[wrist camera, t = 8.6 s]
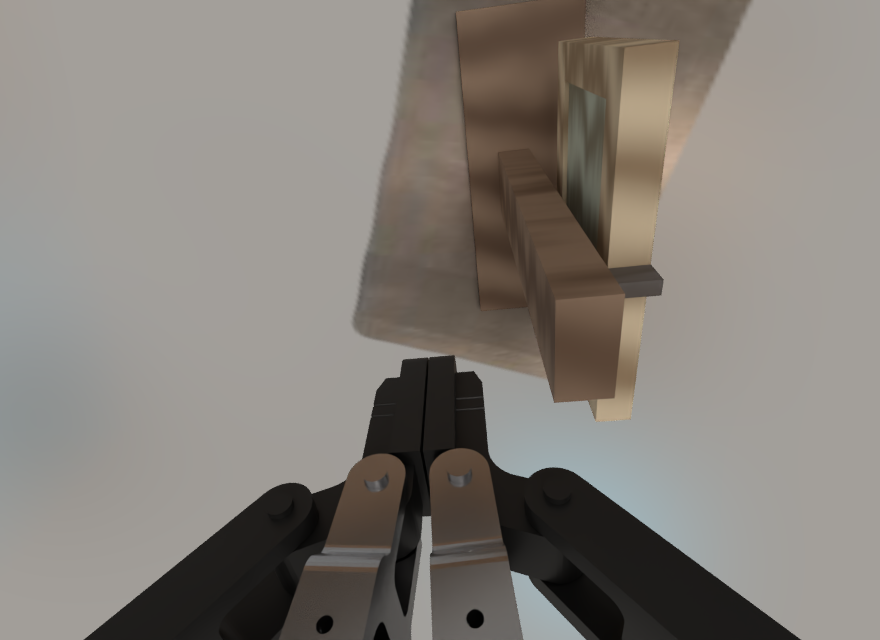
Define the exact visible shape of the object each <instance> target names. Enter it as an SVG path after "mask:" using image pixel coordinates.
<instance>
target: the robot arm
mask: <svg viewBox="0 0 880 640" xmlns="http://www.w3.org/2000/svg"><path fill="white" fill-rule="evenodd" d="M484 410H485V409H484V398H483V387H482V382H481V380H480V379H479V378H478V376H477V375H476V374H475V372H474V371H472V372H459V373H457V370H456V361H455V356H454V355H452V356H440V357H430V358H429V359H428V358H417V359H405V360H403V361H402V367H401V374H400V377H397V378H387V379H385V381H384V382H383V383H382V385H381V386H380V387H379V388H378V390H377V391H376V396H375V400H374V407H373V410H372V415H371V416H372V418H371V420H370V425H369V429H368V434H367V439H366V444H365V448H364V453H363V458H362V460H360V461H359V462H358V463H356V464H355V465H354V466H353V468H352V469H351V470H350V472H349V474H348V476H347V479H346V480H345V481H344V482H342V483H340V484H339V485H336V486H334V487H331V488H328V489H325V490H322V491H319V492H316V493H313V494H311V492H310V490H309V489H308V488H307V487H306V486H304V485H302V484H298V483H286V484H282V485H279V486H276V487H274V488H272V489H270V490H269V491H267V492H266V493H265V494H263V495H262V496H261V497H260V498H259V499H257V500H256V501H255V502H253V503H252V504H251V505H250V506H248V507H247V508H246V509H245V510H244V511H242V512H241V513H240V514H239V515H238V516H236V517H235V518H234V519H232V520H231V521H230V522H229V523H228V524H226V525H225V526H224V527H223V528H221V529H220V530H219V531H218V532H216V533H215V534H214V535H213V536H211V537H210V538H209V539H208V540H207V541H205V542H204V543H203V544H202V545H200V546H199V547H198V548H197V549H195V550H194V551H193V552H192V553H190V554H189V555H188V556H187V557H186V558H184V559H183V560H182V561H180V562H179V563H178V564H177V565H176V566H175V567H173V568H172V569H171V570H169V571H168V572H167V573H166V574H164V575H163V576H162V577H161V578H159V579H158V580H157V581H156V582H155V583H153V584H152V585H151V586H150V587H148V588H147V589H146V590H145V591H143V592H142V593H141V594H140V595H138V596H137V597H136V598H135V599H134V600H132V601H131V602H130V603H129V604H127V605H126V606H125V607H124V608H122V609H121V610H120V611H119V612H117V613H116V614H115V615H114V616H113V617H111V618H110V619H109V620H108V621H106V622H105V623H104V624H103V625H101V626H100V627H99V628H98V629H96V630H95V631H94V632H93V633H92V634H90V635H89V636H88V637H87V638H85V639H84V640H411V623H412V615H413V607H414V600H415V592H416V585H417V578H418V571H419V564H420V556H421V548H422V542H421V530H422V516H431V526H432V553H431V554H430V580H431V609H432V637H433V640H523V636H522V630H521V625H520V620H519V614H518V609H517V604H516V598H515V593H514V587H513V582H512V577H511V572H510V570H511V571H514V572H517V573H521V574H524V575H528V576H529V578H530V580H531V582H532V583H533V585H534V586H535V587H536V588H537V589H538V590H539V591H540V592H541V593H542V594H543V595H544V596H545V597H546V598H547V599H548V601H550V603H552V605H553V606H554V607H555V608H556V609H557V610H558V611H559V612H560V613H561V614H562V615H563V616H564V617H565V618H566V619H567V620H568V621H569V622H570V623H571V624H572V625H573V626H574V627H575V628H576V630H577V631H578V632H579V633H581V635H582V636H583V637H584V638H585V639H586V640H800V639H799V638H798V637H796V636H795V635H794V634H792V633H791V632H790V631H788V630H787V629H786V628H784V627H783V626H782V625H780V624H779V623H777V622H776V621H775V620H773V619H772V618H771V617H769V616H768V615H767V614H765V613H764V612H763V611H761V610H760V609H759V608H757V607H756V606H754V605H753V604H752V603H750V602H749V601H748V600H746V599H745V598H743V597H742V596H741V595H740V594H738V593H737V592H735V591H734V590H733V589H731V588H730V587H729V586H727V585H726V584H725V583H723V582H722V581H721V580H719V579H718V578H716V577H715V576H713V574H711V573H710V572H708V571H707V570H705V569H704V568H703V567H701V566H700V565H699V564H698V563H696V562H695V561H694V560H692V559H691V558H690V557H688V556H687V555H685V554H684V553H683V552H681V551H680V550H679V549H677V548H676V547H674V546H673V545H672V544H670V543H669V542H668V541H666V540H665V539H663V538H662V537H661V536H660V535H658V534H657V533H655V532H654V531H653V530H651V529H650V528H649V527H648V526H646V525H645V524H643V523H642V522H640V521H639V520H638V519H637V518H635V517H634V516H633V515H631V514H630V513H629V512H627V511H626V510H625V509H623V508H622V507H620V506H619V505H618V504H616V503H615V502H614V501H612V500H611V499H610V498H608V497H607V496H605V495H604V494H603V493H601V492H600V491H599V490H597V489H596V488H594V487H593V486H592V485H591V484H589V483H588V482H587V481H585V480H584V479H583V478H581V477H580V476H578V475H577V474H575V473H574V472H571V471H569V470H566V469H563V468H545V469H541V470H539V471H537V472H535V473H534V474H533V475H531V477H529V478H525V477H521V476H516V475H513V474H509V473H507V472H505V471H503V470H501V469H500V468H499V467H498V466H496V465H495V464H494V462H493V461H492V460H491V458H490V456H489V452H488V444H487V432H486V421H485V411H484Z"/></svg>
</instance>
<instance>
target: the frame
mask: <svg viewBox="0 0 880 640" xmlns="http://www.w3.org/2000/svg"><path fill="white" fill-rule="evenodd" d="M678 48H679V41H678V40H653V39H629V38H605V37H588V38H580V39H573V40H565V41H559V48H558V123H557V192H558V193H559V195H560V196H561V198H562V199H563V201H564V202H565V204H566V205H567V207H568V208H569V210H570V211H571V213H572V214H573V216H574V217H575V219H576V220H577V222H578V223H579V225H580V226H581V228H582V229H583V231H584V232H585V234H586V235H587V237H588V238H589V240H590V241H591V243H592V244H593V246H594V247H595V249H596V251H597V252H598V254H599V255H600V257H601V258H602V260H603V261H604V263H605V264H606V266H607V267H608V269H609V270H610V272H611V273H612V275H613V276H614V278H615V279H616V281H617V282H618V284H619V285H620V287H621V288H622V290H623V291H624V293H625V301H624V311H623V321H622V331H621V340H620V350H619V360H618V370H617V380H616V390H615V398H612V399H598V400H588V402H589V405H590V407H591V410H592V413H593V416H594V418H595V421H596V422H600V421H614V420H629V419H631V412H632V404H633V397H634V389H635V381H636V373H637V365H638V358H639V350H640V343H641V334H642V327H643V319H644V311H645V304H646V297H647V296H658V295H661V293H662V287H663V278H662V277H661V276H660V275H659V274H658V273H657V271H656V270H655V269H654V268H653V267H652V265H651V257H652V250H653V242H654V234H655V226H656V219H657V211H658V203H659V195H660V188H661V180H662V172H663V164H664V157H665V149H666V141H667V133H668V126H669V118H670V110H671V102H672V95H673V87H674V79H675V71H676V64H677V56H678Z"/></svg>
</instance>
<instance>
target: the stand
mask: <svg viewBox="0 0 880 640" xmlns="http://www.w3.org/2000/svg"><path fill="white" fill-rule="evenodd" d="M585 12H586V0H536V1H529V2H522V3H515V4H508V5H501V6H494V7H486V8H479V9H472V10H465V11H458V12H456V20H457V32H458V44H459V56H460V68H461V81H462V93H463V105H464V117H465V129H466V141H467V153H468V165H469V177H470V189H471V201H472V213H473V225H474V237H475V249H476V261H477V273H478V286H479V298H480V309H481V311H487V310H498V309H509V308H520V307H528V310H529V313H530V317H531V320H532V324H533V328H534V331H535V335H536V338H537V342H538V346H539V349H540V353H541V356H542V360H543V364H544V367H545V371H546V375H547V378H548V382H549V385H550V389H551V392H552V396H553V399H554V403H556V402H571V401H584V400H598V399H612V398H615V390H616V380H617V370H618V360H619V350H620V340H621V331H622V321H623V311H624V301H625V293H624V291H623V290H622V288H621V287H620V285H619V284H618V282H617V281H616V279H615V278H614V276H613V275H612V273H611V272H610V270H609V269H608V267H607V266H606V264H605V263H604V261H603V260H602V258H601V257H600V255H599V254H598V252H597V251H596V249H595V247H594V246H593V244H592V243H591V241H590V240H589V238H588V237H587V235H586V234H585V232H584V231H583V229H582V228H581V226H580V225H579V223H578V222H577V220H576V219H575V217H574V216H573V214H572V213H571V211H570V210H569V208H568V207H567V205H566V204H565V202H564V201H563V199H562V198H561V196H560V195H559V193H558V192H557V123H558V48H559V41H565V40H573V39H580V38H585Z"/></svg>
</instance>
